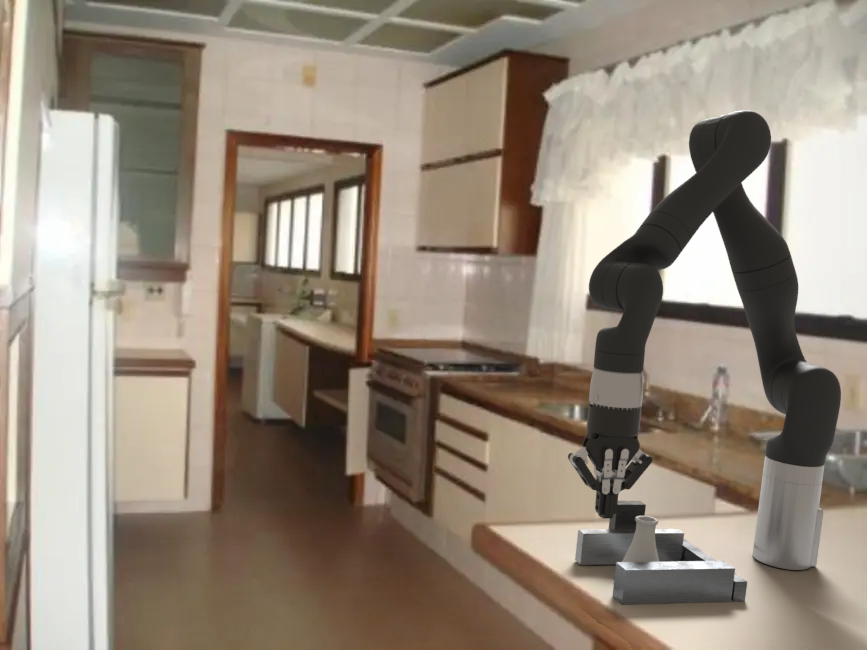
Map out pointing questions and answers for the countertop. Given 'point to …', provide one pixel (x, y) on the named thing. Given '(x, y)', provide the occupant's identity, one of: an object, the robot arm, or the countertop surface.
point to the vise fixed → (678, 580)
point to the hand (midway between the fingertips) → (605, 516)
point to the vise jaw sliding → (624, 538)
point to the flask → (643, 541)
